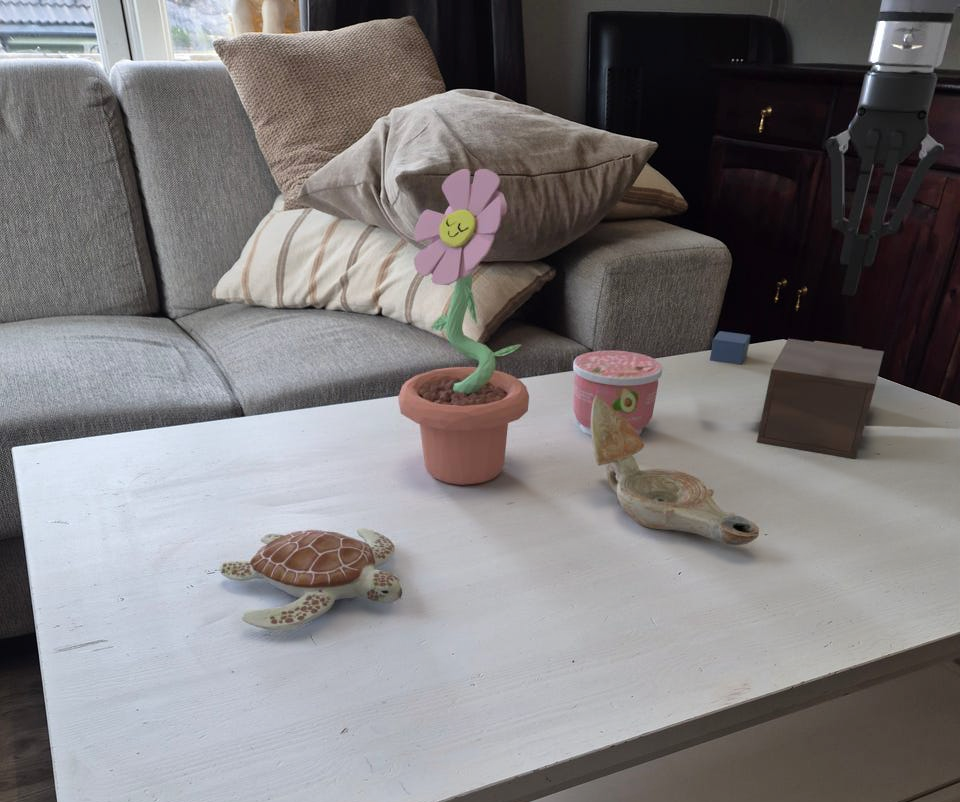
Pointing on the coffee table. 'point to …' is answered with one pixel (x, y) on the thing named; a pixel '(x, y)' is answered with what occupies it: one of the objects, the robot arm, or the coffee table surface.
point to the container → (616, 386)
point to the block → (730, 347)
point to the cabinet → (819, 397)
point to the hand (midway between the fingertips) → (848, 292)
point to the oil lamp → (659, 486)
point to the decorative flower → (463, 342)
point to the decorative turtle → (317, 573)
